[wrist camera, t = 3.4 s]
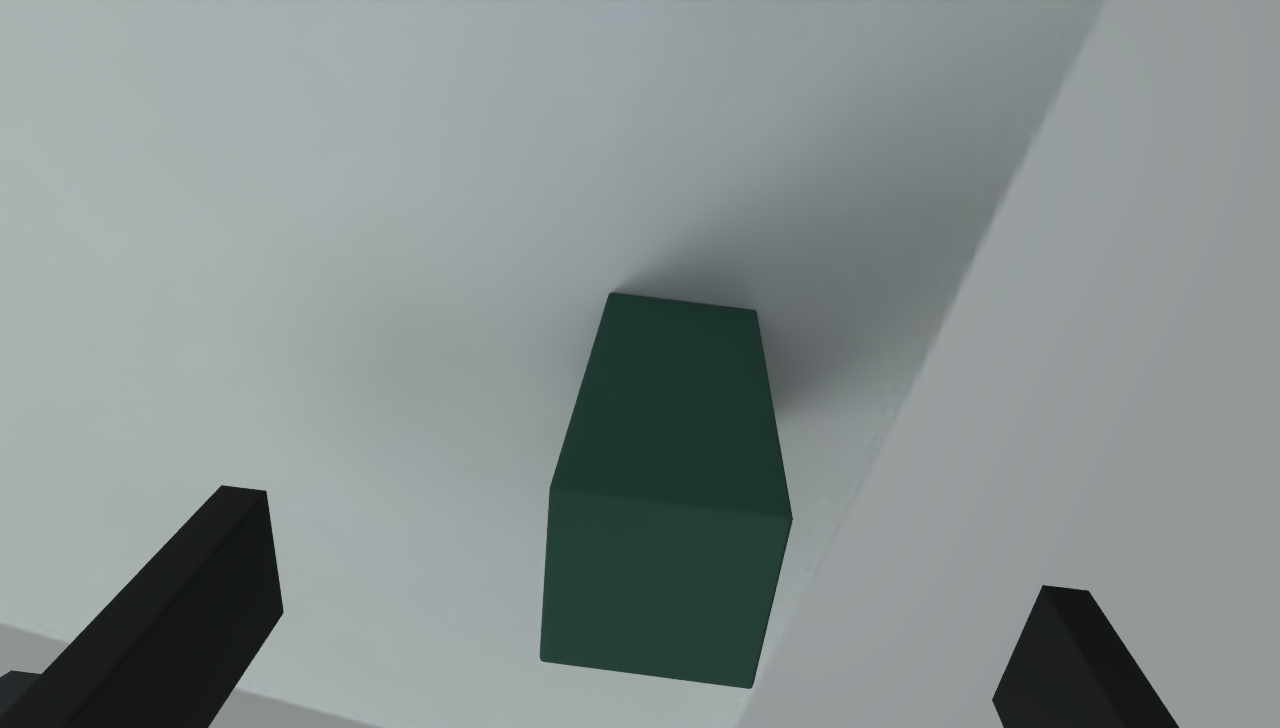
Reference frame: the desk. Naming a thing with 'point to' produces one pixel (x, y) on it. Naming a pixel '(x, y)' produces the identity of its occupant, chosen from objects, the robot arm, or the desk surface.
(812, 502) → the desk surface
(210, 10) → the desk surface
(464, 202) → the desk surface
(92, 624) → the robot arm
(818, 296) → the desk surface
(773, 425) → the green block
